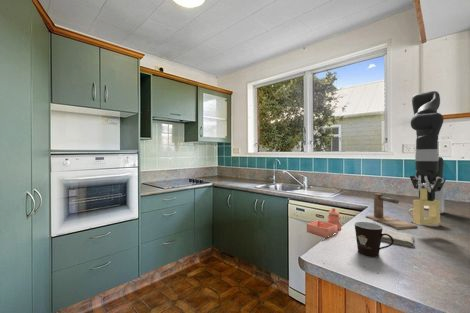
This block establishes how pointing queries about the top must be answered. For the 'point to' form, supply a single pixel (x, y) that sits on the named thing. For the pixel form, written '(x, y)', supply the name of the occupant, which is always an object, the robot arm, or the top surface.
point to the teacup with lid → (425, 215)
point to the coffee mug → (369, 238)
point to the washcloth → (398, 238)
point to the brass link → (419, 209)
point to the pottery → (325, 225)
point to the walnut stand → (387, 220)
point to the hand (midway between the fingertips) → (426, 199)
